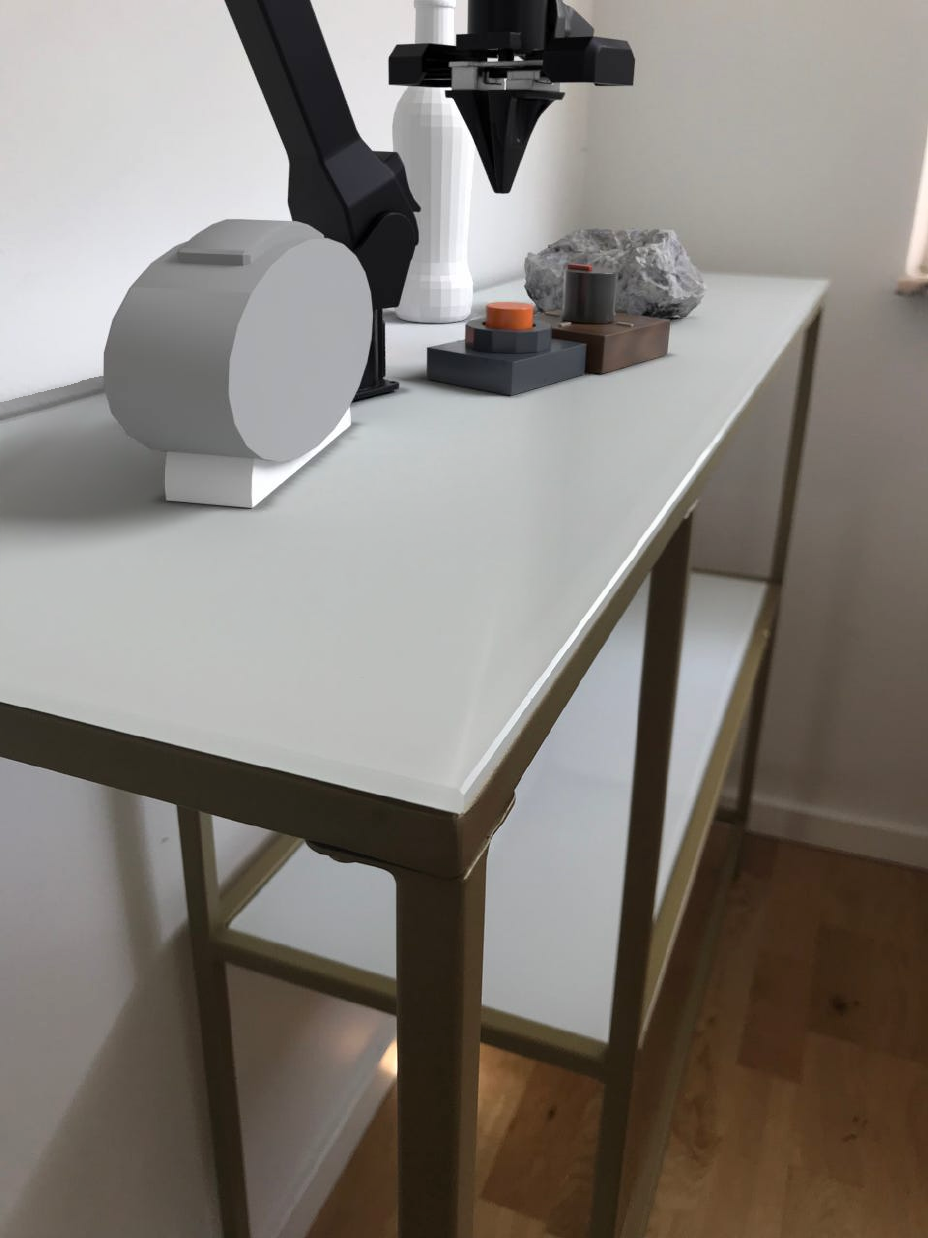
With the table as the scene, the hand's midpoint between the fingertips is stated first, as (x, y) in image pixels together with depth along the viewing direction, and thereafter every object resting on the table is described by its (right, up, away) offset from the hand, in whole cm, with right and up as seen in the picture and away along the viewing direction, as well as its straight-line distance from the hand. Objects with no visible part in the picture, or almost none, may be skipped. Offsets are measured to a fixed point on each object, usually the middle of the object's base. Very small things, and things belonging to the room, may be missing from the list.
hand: (501, 193), depth 79 cm
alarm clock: (-14, -23, -20) cm, 34 cm away
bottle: (-6, -2, +26) cm, 27 cm away
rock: (+13, -1, +29) cm, 32 cm away
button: (+1, -10, 0) cm, 10 cm away
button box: (0, -14, +2) cm, 14 cm away
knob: (+8, -7, +8) cm, 13 cm away
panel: (+8, -10, +10) cm, 16 cm away
